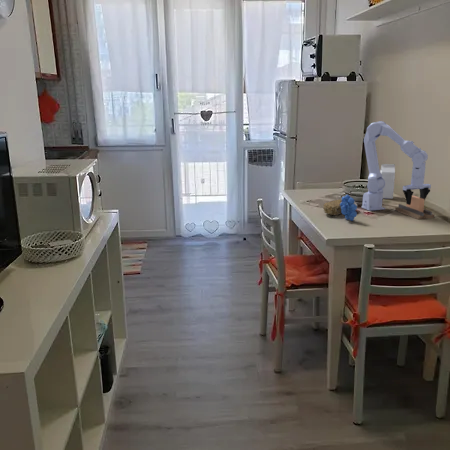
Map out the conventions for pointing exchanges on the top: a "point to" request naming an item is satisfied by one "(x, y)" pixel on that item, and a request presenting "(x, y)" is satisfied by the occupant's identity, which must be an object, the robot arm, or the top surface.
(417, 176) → the robot arm
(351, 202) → the grapes
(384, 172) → the milk carton
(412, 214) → the track base
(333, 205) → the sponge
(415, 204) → the peach block
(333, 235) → the top surface
